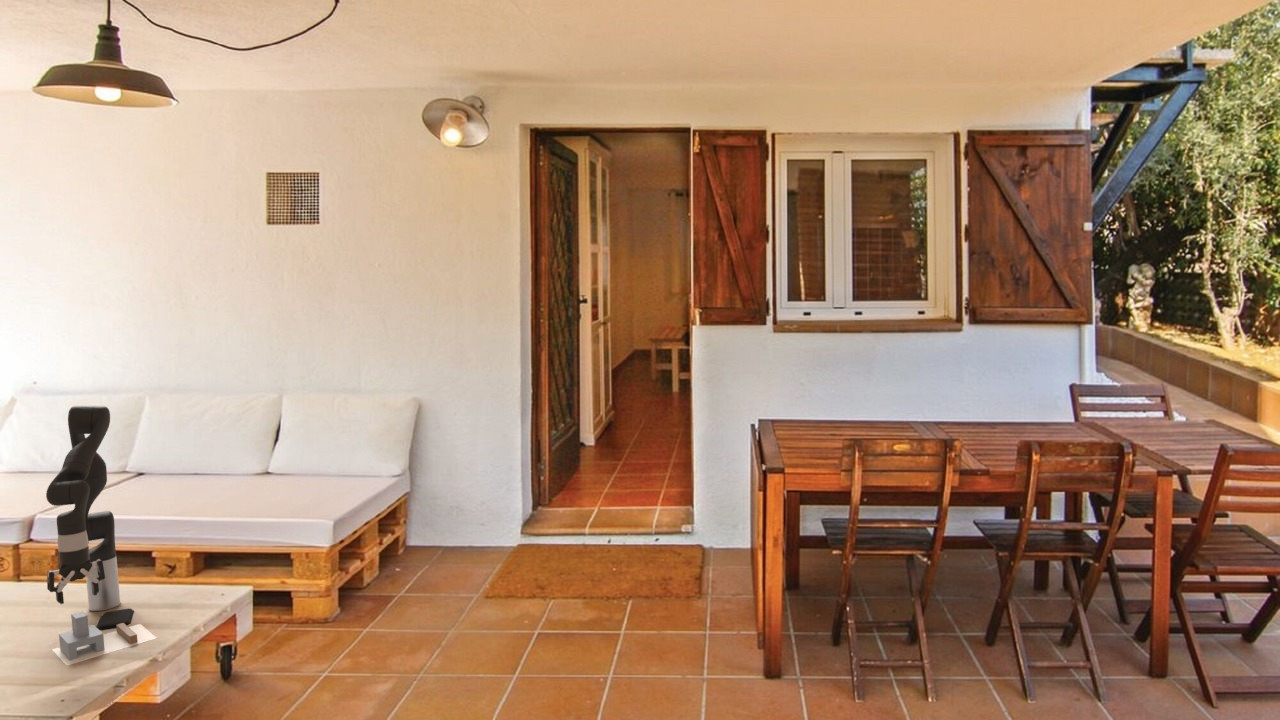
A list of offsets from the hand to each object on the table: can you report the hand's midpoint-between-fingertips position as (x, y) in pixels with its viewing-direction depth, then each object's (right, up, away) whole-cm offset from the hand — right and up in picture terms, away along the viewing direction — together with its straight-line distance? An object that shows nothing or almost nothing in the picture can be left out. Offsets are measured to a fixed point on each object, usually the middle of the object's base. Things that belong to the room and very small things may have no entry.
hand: (78, 599), depth 251 cm
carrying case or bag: (-4, -16, +24) cm, 29 cm away
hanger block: (0, -16, +2) cm, 16 cm away
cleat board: (+4, -17, +6) cm, 19 cm away
